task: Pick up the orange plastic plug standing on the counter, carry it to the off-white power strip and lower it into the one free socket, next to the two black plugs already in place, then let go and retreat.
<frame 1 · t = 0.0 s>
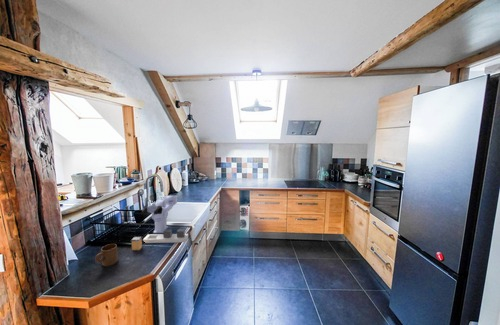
hand: (148, 213, 132), 22 cm above the worktop, tool horizontal, fingers open, 7 cm apart
pdu strip: (166, 239, 141), on the worktop
plug: (137, 248, 130), on the worktop
mug: (106, 265, 113), on the worktop
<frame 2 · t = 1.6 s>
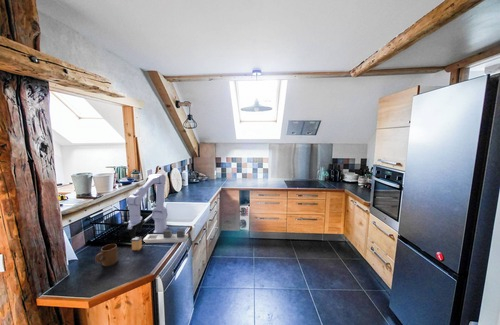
hand: (136, 234, 129), 9 cm above the worktop, tool pointing down, fingers open, 7 cm apart
nothing on the worktop moved.
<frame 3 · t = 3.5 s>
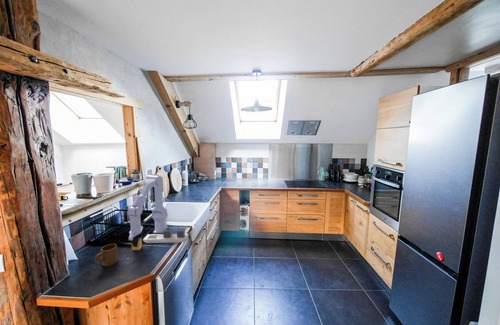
hand: (136, 245, 130), 2 cm above the worktop, tool pointing down, fingers closed on plug, 3 cm apart
plug: (137, 248, 130), on the worktop, touching gripper
everything else where it was.
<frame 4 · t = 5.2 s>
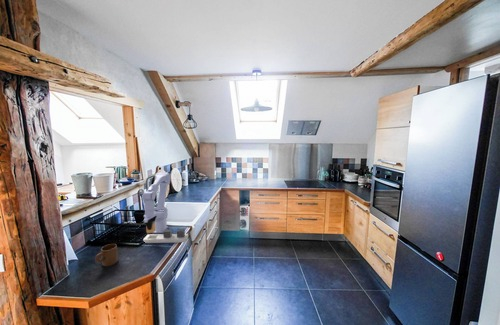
hand: (150, 228, 138), 9 cm above the worktop, tool pointing down, fingers closed on plug, 3 cm apart
plug: (151, 231, 138), point 7 cm above the worktop, touching gripper
everything else where it was.
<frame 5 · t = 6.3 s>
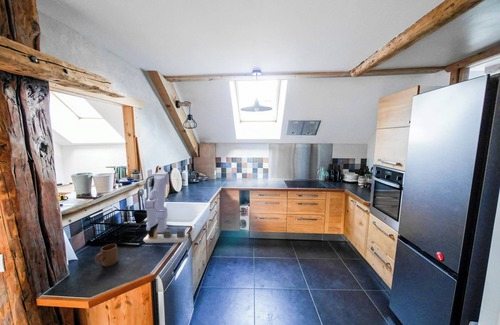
hand: (152, 235, 140), 3 cm above the worktop, tool pointing down, fingers closed on plug, 3 cm apart
plug: (153, 238, 140), point 1 cm above the worktop, touching gripper
everything else where it was.
when the fingers open (3 cm above the worktop, at t = 7.1 s): plug stays where it is, resting in pdu strip.
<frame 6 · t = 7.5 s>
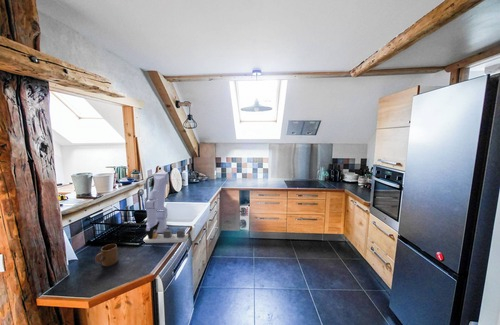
hand: (152, 235, 140), 3 cm above the worktop, tool pointing down, fingers open, 7 cm apart
plug: (153, 240, 140), resting in pdu strip
everything else where it was.
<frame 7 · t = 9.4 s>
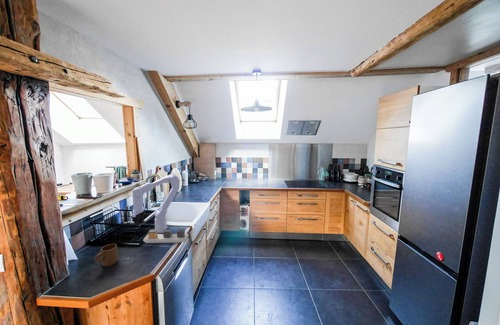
hand: (139, 222, 145), 9 cm above the worktop, tool pointing down, fingers open, 7 cm apart
nothing on the worktop moved.
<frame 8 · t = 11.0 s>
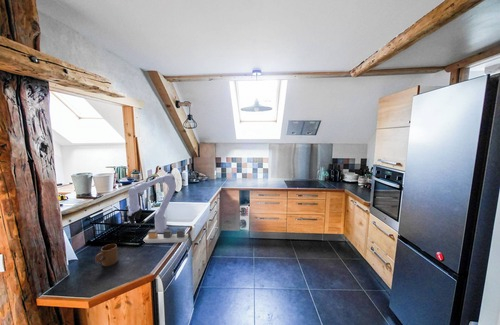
hand: (135, 221, 148), 9 cm above the worktop, tool pointing down, fingers open, 7 cm apart
nothing on the worktop moved.
at the end: plug 0.1 cm from the target spot on the pdu strip, point 0.0 cm above the pdu strip's base; plug tilted 0°; the gripper is holding nothing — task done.
